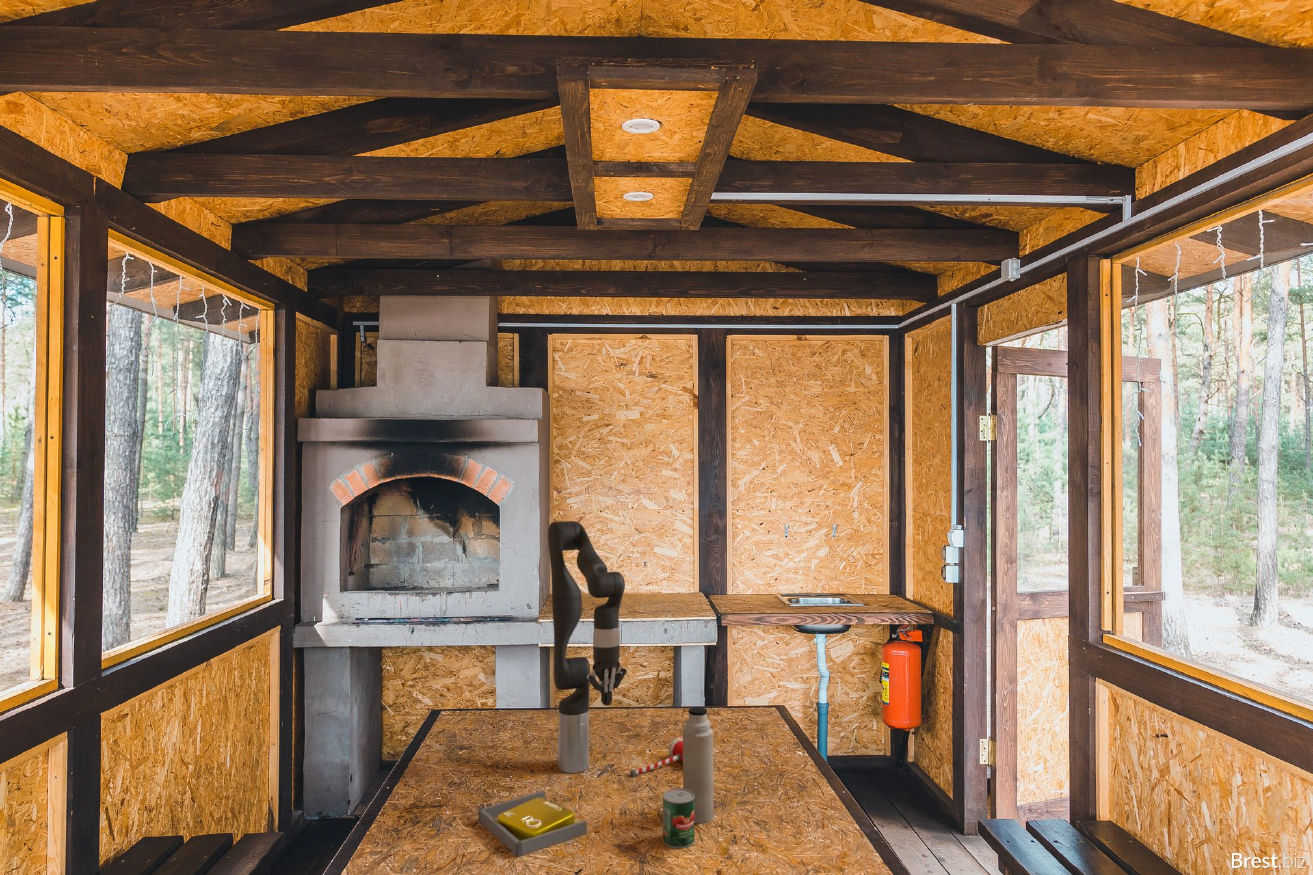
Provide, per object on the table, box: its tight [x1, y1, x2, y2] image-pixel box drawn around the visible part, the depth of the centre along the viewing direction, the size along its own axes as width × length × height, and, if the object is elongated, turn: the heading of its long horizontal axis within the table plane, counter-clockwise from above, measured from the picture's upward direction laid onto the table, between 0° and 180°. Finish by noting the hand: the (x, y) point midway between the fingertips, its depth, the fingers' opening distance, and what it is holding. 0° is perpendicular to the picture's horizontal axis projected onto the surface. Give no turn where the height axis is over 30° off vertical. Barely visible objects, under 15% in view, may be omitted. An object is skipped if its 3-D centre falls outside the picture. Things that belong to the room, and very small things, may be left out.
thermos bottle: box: [682, 706, 715, 824], centre depth 202 cm, size 8×8×28 cm
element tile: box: [496, 798, 576, 841], centre depth 195 cm, size 15×15×5 cm
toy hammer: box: [629, 737, 683, 778], centre depth 233 cm, size 23×12×6 cm, turn 120°
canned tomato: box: [662, 788, 696, 849], centre depth 189 cm, size 8×8×11 cm
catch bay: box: [478, 790, 588, 858], centre depth 196 cm, size 23×19×3 cm
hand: (606, 704), depth 216 cm, fingers closed
